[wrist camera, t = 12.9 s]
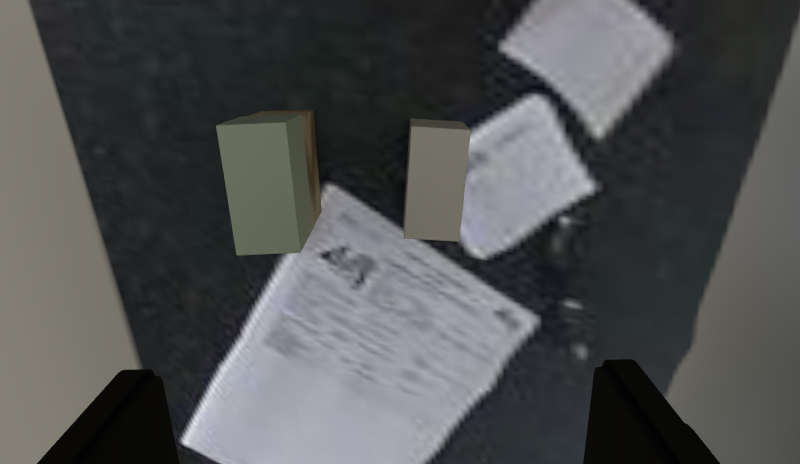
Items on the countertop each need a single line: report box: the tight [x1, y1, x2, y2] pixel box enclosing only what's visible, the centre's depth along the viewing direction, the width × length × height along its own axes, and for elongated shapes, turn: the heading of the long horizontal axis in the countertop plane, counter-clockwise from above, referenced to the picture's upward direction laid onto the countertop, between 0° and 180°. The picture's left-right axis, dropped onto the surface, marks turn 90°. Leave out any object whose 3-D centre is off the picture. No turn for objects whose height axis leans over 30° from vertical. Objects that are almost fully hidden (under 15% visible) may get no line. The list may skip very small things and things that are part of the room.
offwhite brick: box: [403, 119, 471, 241], centre depth 38 cm, size 8×4×5 cm, turn 177°
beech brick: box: [250, 110, 322, 227], centre depth 37 cm, size 8×4×5 cm, turn 2°
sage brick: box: [216, 114, 313, 255], centre depth 33 cm, size 8×4×5 cm, turn 2°
